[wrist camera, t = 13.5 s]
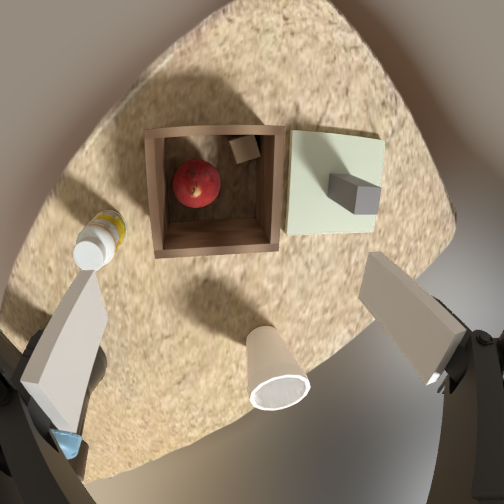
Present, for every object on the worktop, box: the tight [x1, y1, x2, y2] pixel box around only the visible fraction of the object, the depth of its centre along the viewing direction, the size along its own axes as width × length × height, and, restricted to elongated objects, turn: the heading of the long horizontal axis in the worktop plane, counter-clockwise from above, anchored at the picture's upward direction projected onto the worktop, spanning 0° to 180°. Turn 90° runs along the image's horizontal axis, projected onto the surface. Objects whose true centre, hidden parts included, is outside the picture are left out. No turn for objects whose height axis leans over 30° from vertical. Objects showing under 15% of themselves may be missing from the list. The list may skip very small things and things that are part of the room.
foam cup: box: [246, 326, 310, 410], centre depth 45 cm, size 10×9×13 cm
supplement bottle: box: [73, 210, 126, 271], centre depth 32 cm, size 5×5×10 cm
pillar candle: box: [67, 440, 89, 481], centre depth 54 cm, size 10×10×15 cm
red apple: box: [172, 159, 221, 208], centre depth 33 cm, size 6×6×8 cm
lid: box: [285, 130, 385, 236], centre depth 36 cm, size 15×15×10 cm
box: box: [144, 125, 285, 259], centre depth 32 cm, size 14×14×9 cm
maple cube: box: [228, 135, 261, 164], centre depth 34 cm, size 3×3×3 cm
